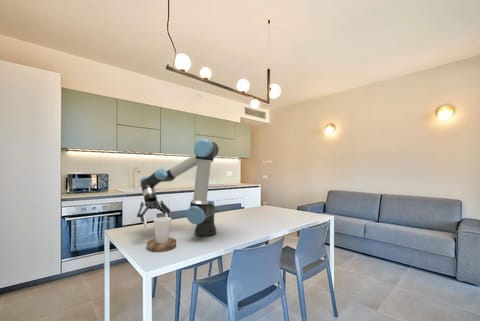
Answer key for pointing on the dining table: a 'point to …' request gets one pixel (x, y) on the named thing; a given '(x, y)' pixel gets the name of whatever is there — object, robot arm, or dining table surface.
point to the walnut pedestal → (161, 245)
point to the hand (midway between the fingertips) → (157, 224)
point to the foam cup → (162, 229)
